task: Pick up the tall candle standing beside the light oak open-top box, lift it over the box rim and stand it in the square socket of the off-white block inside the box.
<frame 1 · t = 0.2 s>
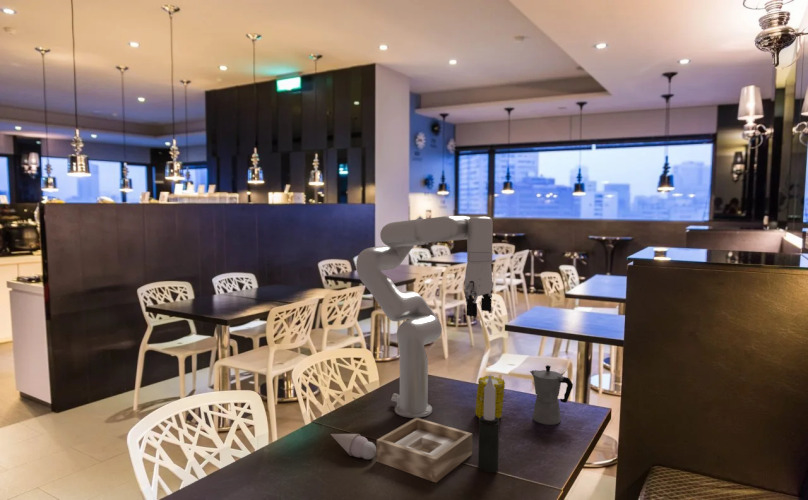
hand: (479, 313, 161), 37 cm above the table, fingers open, 9 cm apart
ice cream cone: (351, 455, 147), on the table
coffeepot: (549, 420, 172), on the table
food: (489, 417, 174), on the table
box: (425, 457, 145), on the table
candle: (488, 467, 140), on the table
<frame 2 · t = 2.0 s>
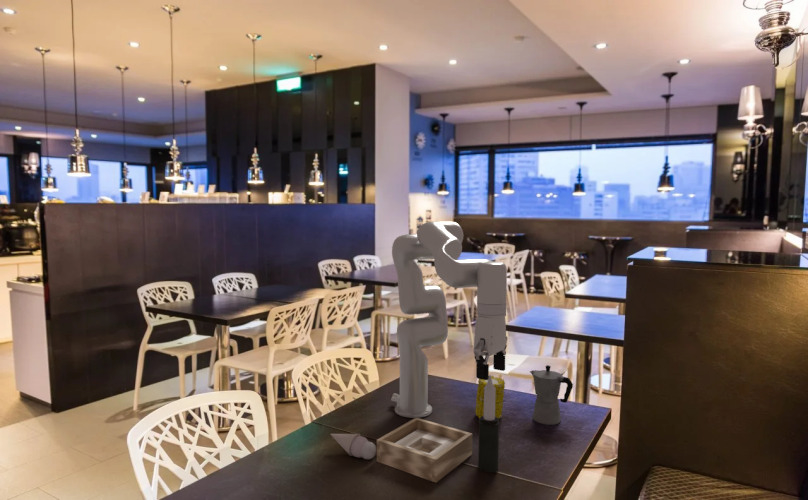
hand: (491, 374, 138), 25 cm above the table, fingers open, 9 cm apart
nothing on the table moved.
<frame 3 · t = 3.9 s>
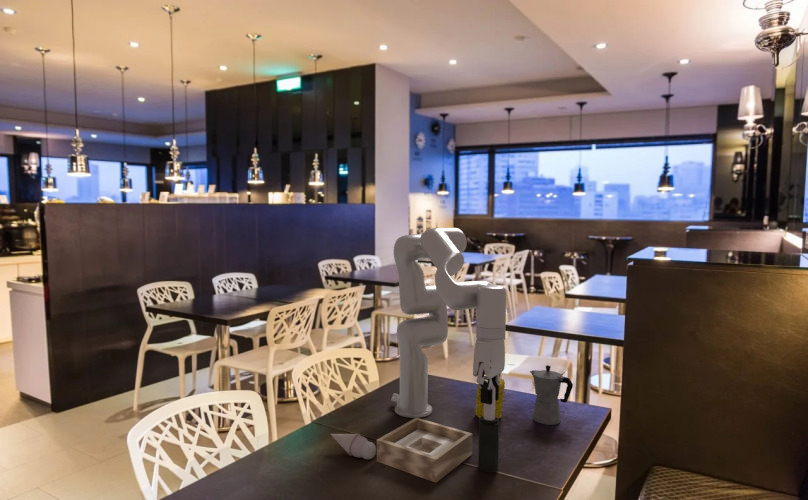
hand: (489, 400, 139), 18 cm above the table, fingers closed on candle, 3 cm apart
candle: (488, 467, 140), on the table, touching gripper
everything else where it was.
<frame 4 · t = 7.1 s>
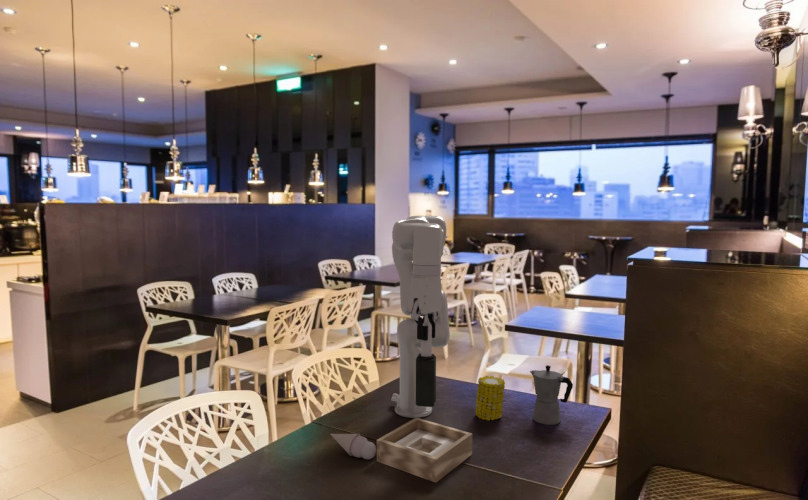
hand: (426, 337, 143), 34 cm above the table, fingers closed on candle, 3 cm apart
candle: (425, 403, 144), point 15 cm above the table, touching gripper
everything else where it was.
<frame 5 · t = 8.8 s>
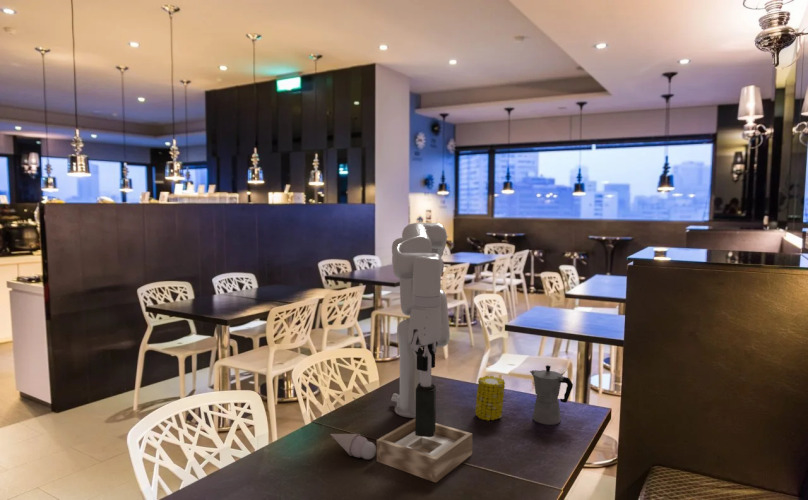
hand: (425, 367, 143), 25 cm above the table, fingers closed on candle, 3 cm apart
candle: (425, 433, 145), point 7 cm above the table, touching gripper
everything else where it was.
when the fingers open (20 cm above the table, at t = 10.3 s): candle drops 1 cm, resting on box.
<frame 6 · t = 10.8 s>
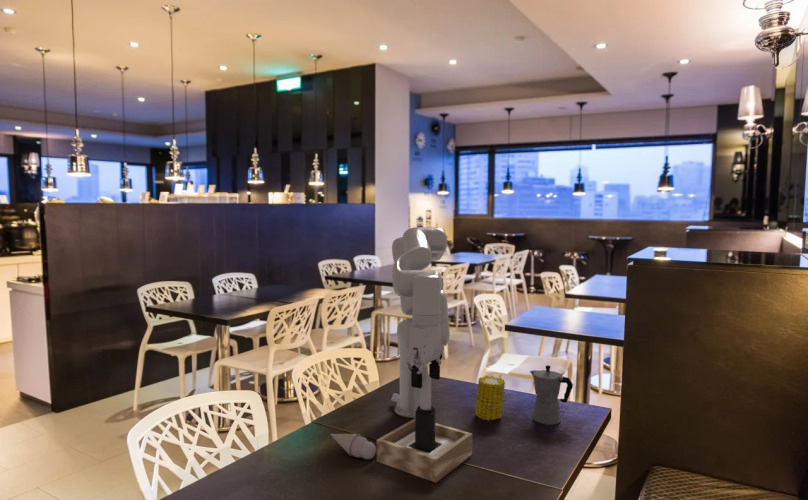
hand: (425, 382, 144), 21 cm above the table, fingers open, 8 cm apart
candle: (425, 455, 146), resting on box
everything else where it was.
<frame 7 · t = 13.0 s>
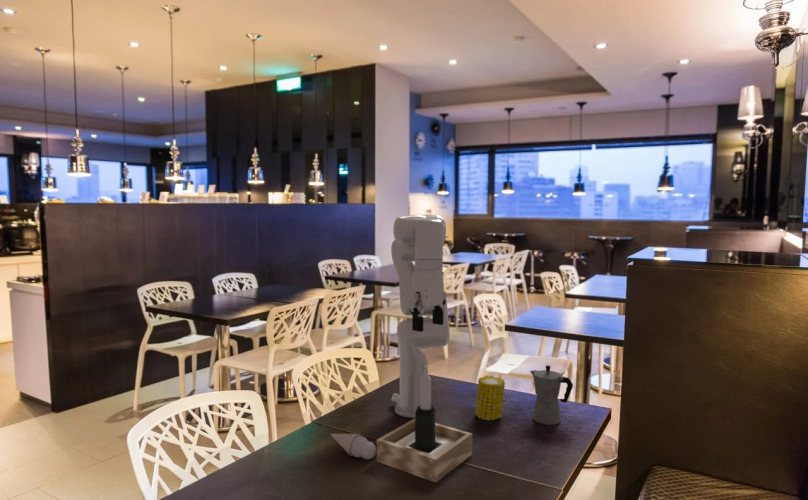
hand: (428, 327, 144), 36 cm above the table, fingers open, 9 cm apart
nothing on the table moved.
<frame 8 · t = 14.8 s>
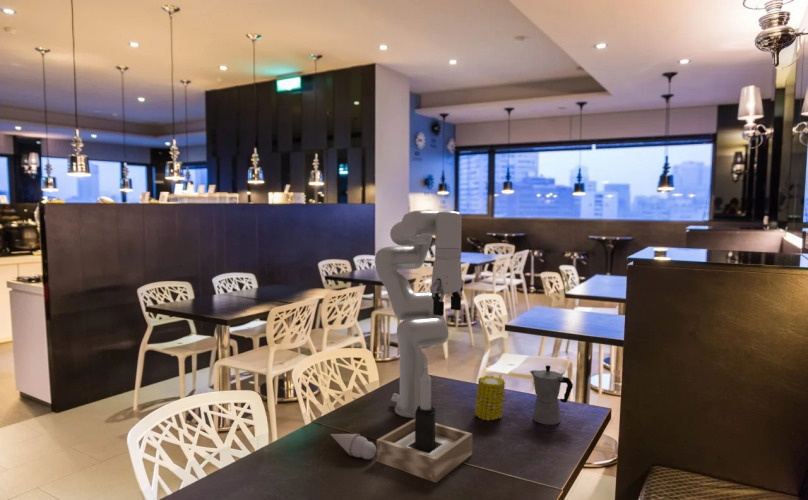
hand: (447, 312, 154), 38 cm above the table, fingers open, 9 cm apart
nothing on the table moved.
at the end: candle 0.3 cm off-centre on the box, point 0.4 cm above the box's base; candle tilted 0°; the gripper is holding nothing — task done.
